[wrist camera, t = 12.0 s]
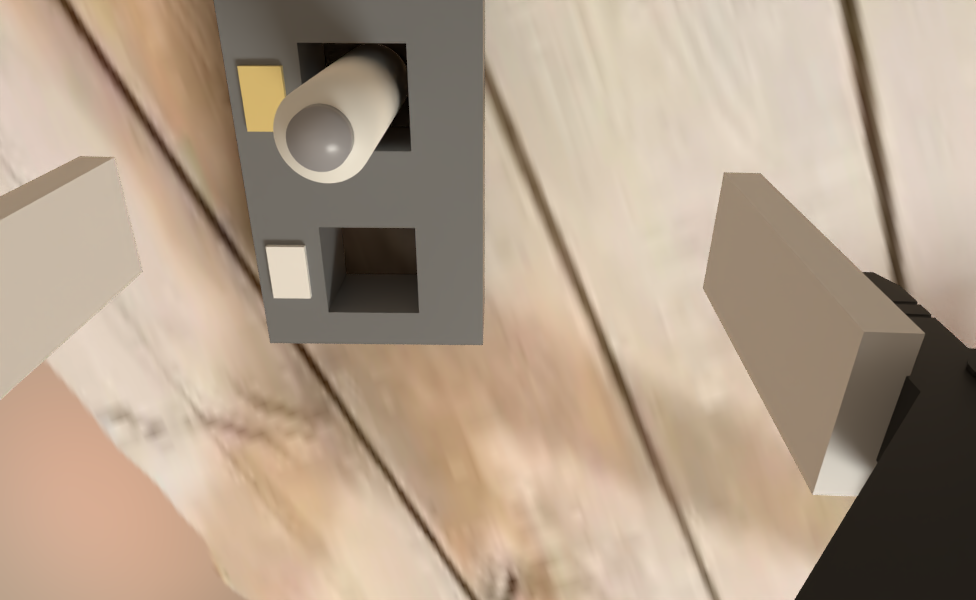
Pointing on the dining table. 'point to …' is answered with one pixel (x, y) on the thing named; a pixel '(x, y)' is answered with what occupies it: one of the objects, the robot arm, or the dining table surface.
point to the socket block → (365, 172)
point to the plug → (341, 114)
